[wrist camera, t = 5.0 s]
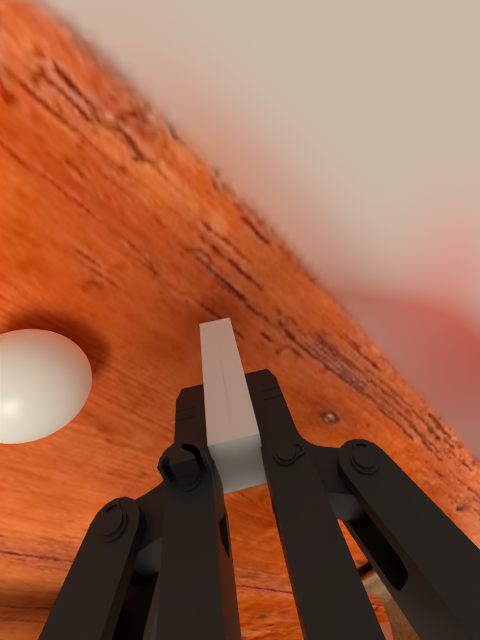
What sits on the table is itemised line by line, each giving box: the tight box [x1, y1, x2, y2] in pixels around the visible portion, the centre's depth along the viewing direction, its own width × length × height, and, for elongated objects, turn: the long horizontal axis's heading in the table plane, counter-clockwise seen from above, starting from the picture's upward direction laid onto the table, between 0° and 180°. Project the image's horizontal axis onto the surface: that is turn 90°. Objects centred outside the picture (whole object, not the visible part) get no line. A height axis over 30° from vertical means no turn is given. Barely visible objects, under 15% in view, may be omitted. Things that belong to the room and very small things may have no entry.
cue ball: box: [0, 329, 92, 444], centre depth 14 cm, size 6×6×6 cm
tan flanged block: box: [360, 568, 420, 640], centre depth 40 cm, size 15×12×15 cm
